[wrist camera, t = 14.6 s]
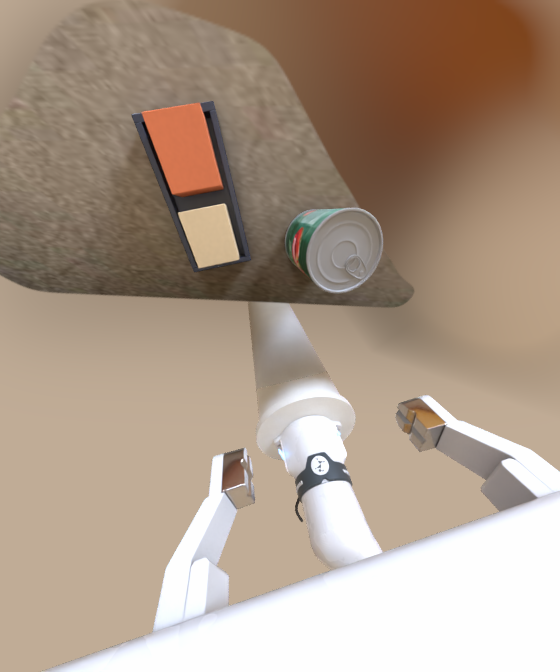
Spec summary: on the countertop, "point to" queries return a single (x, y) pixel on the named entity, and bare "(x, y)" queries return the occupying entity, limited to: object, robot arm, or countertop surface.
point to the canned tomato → (335, 247)
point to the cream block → (210, 235)
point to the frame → (204, 199)
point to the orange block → (184, 149)
